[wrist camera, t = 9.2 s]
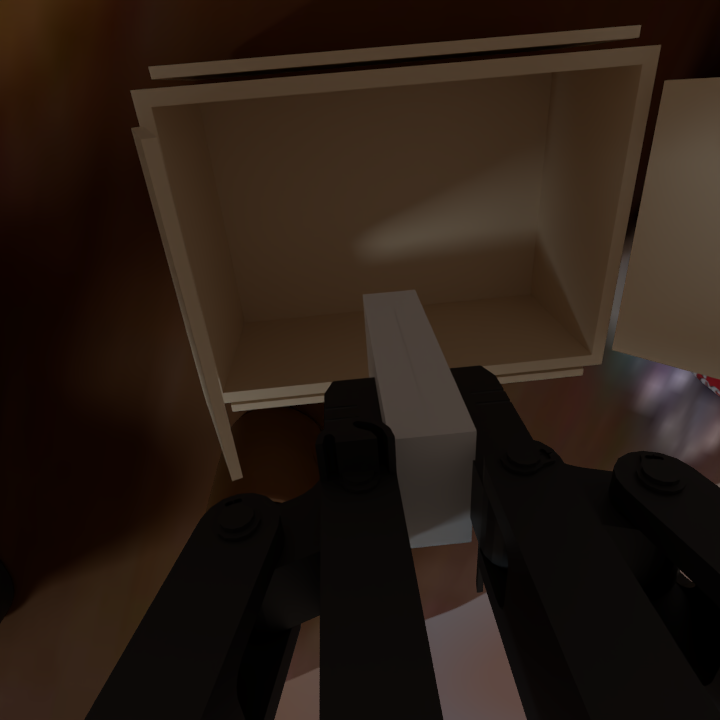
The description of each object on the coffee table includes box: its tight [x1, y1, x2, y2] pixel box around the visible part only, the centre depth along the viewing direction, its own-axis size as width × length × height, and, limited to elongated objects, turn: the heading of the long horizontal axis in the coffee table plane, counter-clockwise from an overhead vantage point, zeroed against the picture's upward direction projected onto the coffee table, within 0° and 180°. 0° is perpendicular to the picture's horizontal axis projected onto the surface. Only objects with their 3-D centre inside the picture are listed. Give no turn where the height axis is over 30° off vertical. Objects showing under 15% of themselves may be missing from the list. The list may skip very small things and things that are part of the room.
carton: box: [130, 25, 661, 412], centre depth 26 cm, size 20×15×9 cm
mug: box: [206, 407, 321, 512], centre depth 33 cm, size 12×8×9 cm, turn 117°
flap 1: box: [131, 127, 243, 481], centre depth 18 cm, size 7×12×1 cm
